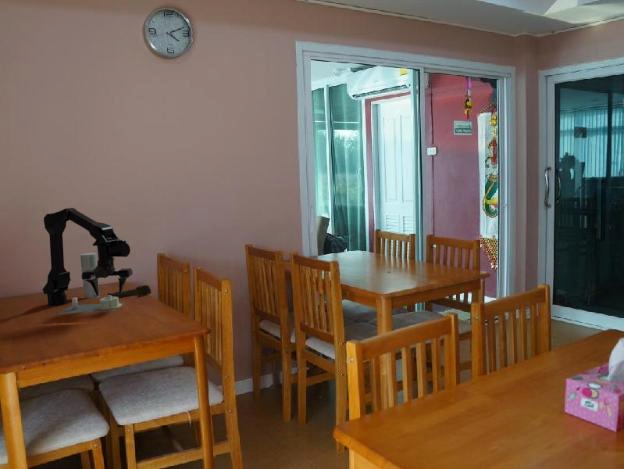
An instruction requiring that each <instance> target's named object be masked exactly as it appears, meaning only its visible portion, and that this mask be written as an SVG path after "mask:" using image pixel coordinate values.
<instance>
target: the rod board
mask: <svg viewBox="0 0 624 469" xmlns="http://www.w3.org/2000/svg"><path fill="white" fill-rule="evenodd" d="M106 297H107V300H110V299H112V296H111V295H108V294H107V295H106ZM124 305H125V302H119V305H118V306H116V307H110V308H101V307H100V303H93V304H90V303H89V304H78V297H72V298H71V305H70V306H69V307H67V308H66V309H64V310H63V311H61V312H59V313H58V315H66V314H84V313H85V314H87V313H88V314H89V313H105V312H116V311H117V310H118V309H119V308H122V306H124Z"/></svg>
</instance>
